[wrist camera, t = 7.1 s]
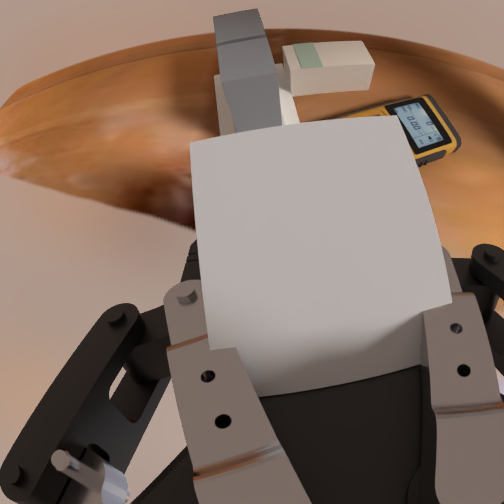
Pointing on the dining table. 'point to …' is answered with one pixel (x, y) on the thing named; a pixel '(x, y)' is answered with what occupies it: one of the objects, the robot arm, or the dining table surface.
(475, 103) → the dining table surface
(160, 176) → the dining table surface
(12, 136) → the dining table surface
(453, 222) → the dining table surface
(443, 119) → the electronic device
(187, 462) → the robot arm
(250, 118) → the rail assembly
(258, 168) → the block
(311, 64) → the block
